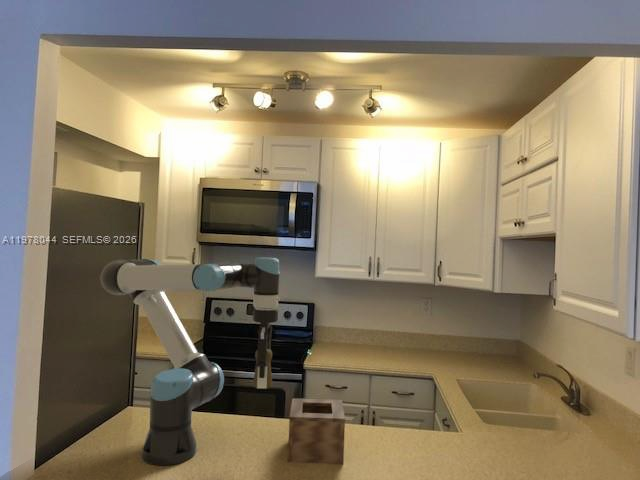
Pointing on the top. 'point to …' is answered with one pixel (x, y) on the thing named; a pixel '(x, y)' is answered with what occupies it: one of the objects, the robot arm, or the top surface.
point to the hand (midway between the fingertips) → (263, 384)
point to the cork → (269, 376)
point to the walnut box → (316, 431)
